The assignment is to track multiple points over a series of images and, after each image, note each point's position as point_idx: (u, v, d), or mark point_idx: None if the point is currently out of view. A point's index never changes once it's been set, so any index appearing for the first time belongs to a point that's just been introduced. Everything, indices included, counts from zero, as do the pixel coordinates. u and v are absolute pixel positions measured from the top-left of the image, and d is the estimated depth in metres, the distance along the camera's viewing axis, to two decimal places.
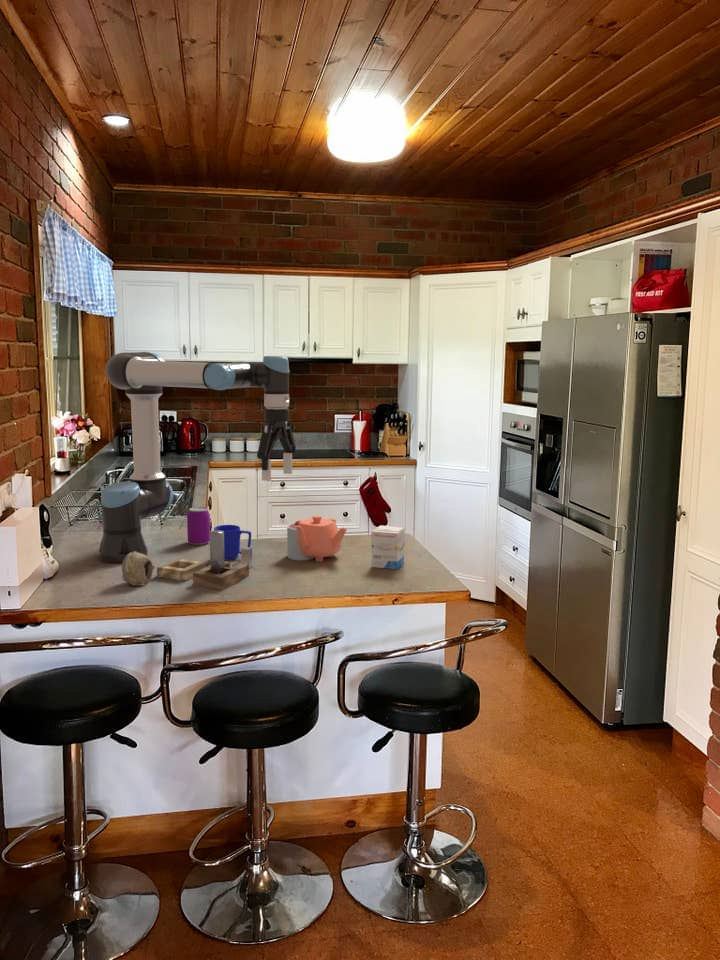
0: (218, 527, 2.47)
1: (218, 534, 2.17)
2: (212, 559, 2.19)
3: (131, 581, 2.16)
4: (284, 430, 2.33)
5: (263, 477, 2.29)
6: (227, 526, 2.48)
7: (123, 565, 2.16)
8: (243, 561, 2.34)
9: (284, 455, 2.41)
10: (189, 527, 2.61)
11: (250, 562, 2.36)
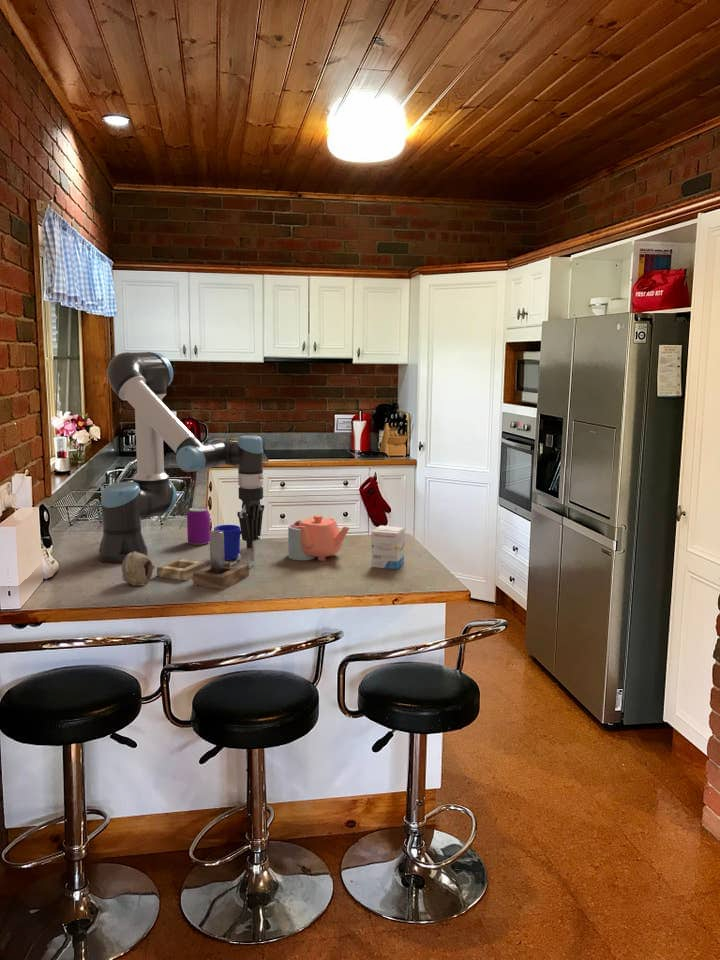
0: (218, 527, 2.47)
1: (218, 534, 2.17)
2: (212, 559, 2.19)
3: (131, 581, 2.16)
4: (258, 507, 2.36)
5: None
6: (227, 526, 2.48)
7: (123, 565, 2.16)
8: (242, 561, 2.34)
9: None
10: (189, 527, 2.61)
11: (250, 563, 2.36)
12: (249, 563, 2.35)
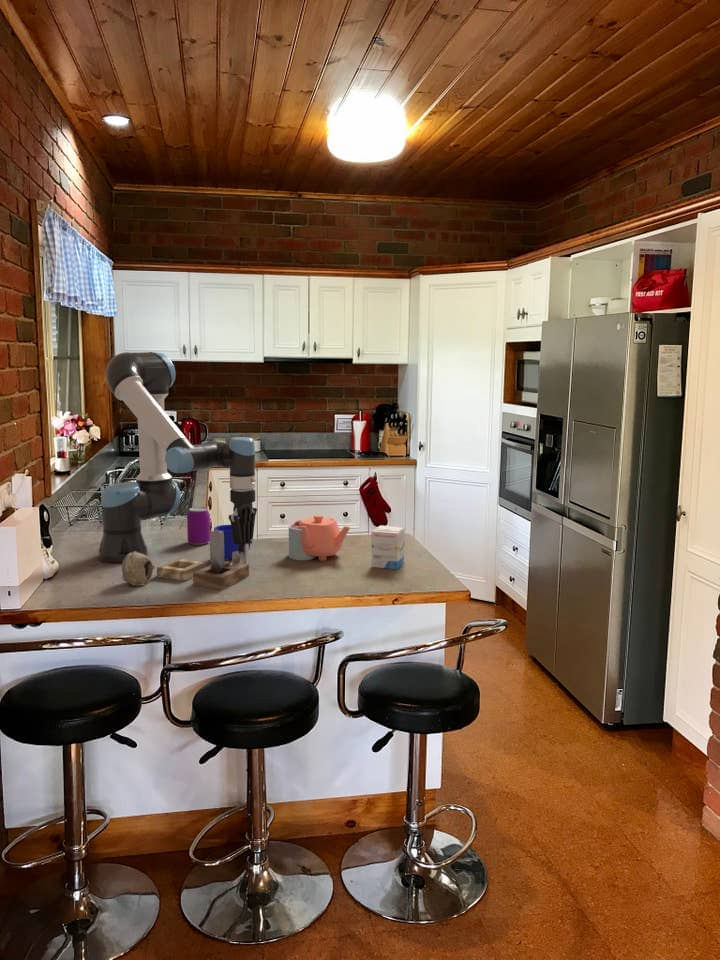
0: (218, 527, 2.47)
1: (218, 534, 2.17)
2: (212, 559, 2.19)
3: (131, 581, 2.16)
4: (250, 510, 2.32)
5: None
6: (227, 526, 2.48)
7: (123, 565, 2.16)
8: None
9: None
10: (189, 527, 2.61)
11: None
12: None
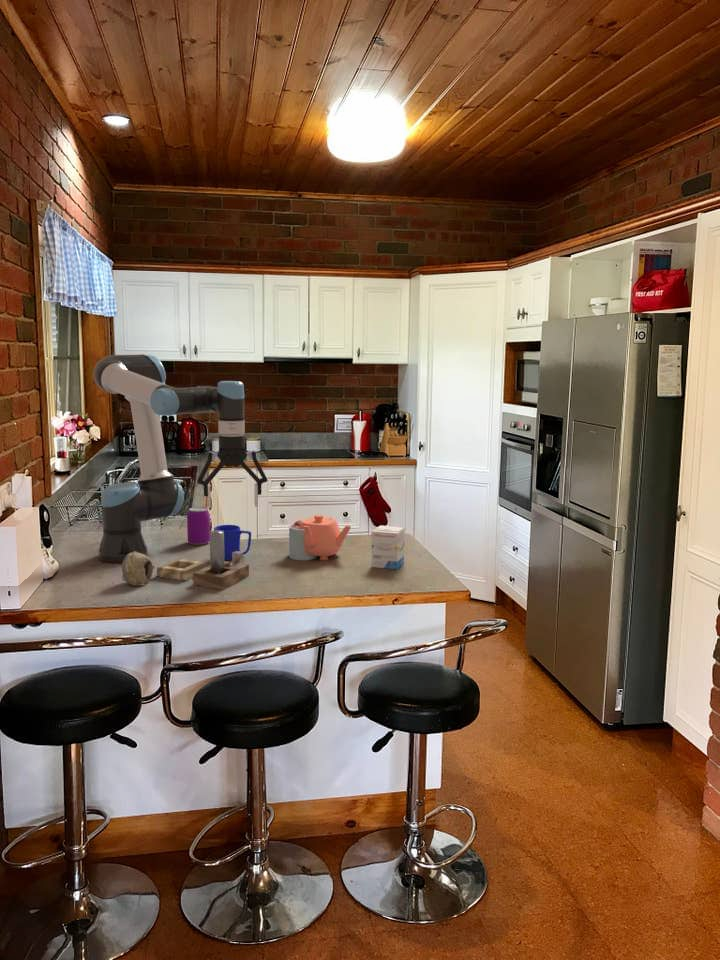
0: (218, 527, 2.47)
1: (218, 534, 2.17)
2: (212, 559, 2.19)
3: (131, 581, 2.16)
4: (236, 459, 2.22)
5: None
6: (227, 526, 2.48)
7: (123, 565, 2.16)
8: None
9: (254, 486, 2.27)
10: (189, 527, 2.61)
11: None
12: None
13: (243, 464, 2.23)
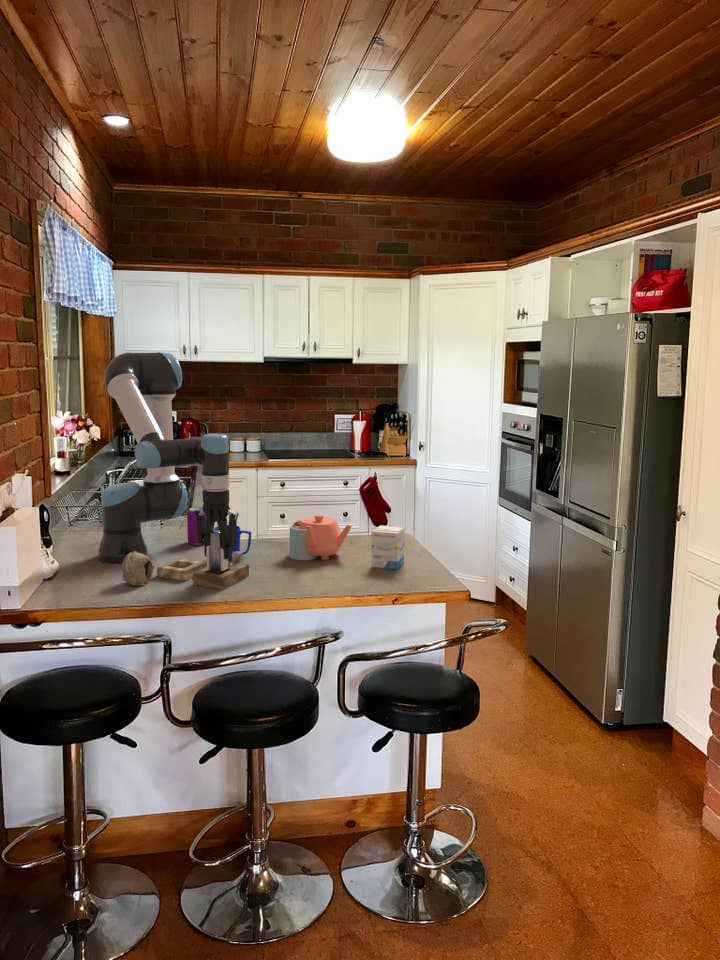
0: (218, 527, 2.47)
1: (218, 534, 2.17)
2: (212, 559, 2.19)
3: (131, 581, 2.16)
4: (215, 514, 2.16)
5: None
6: (227, 526, 2.48)
7: (123, 565, 2.16)
8: None
9: None
10: (189, 527, 2.61)
11: None
12: None
13: (219, 522, 2.16)
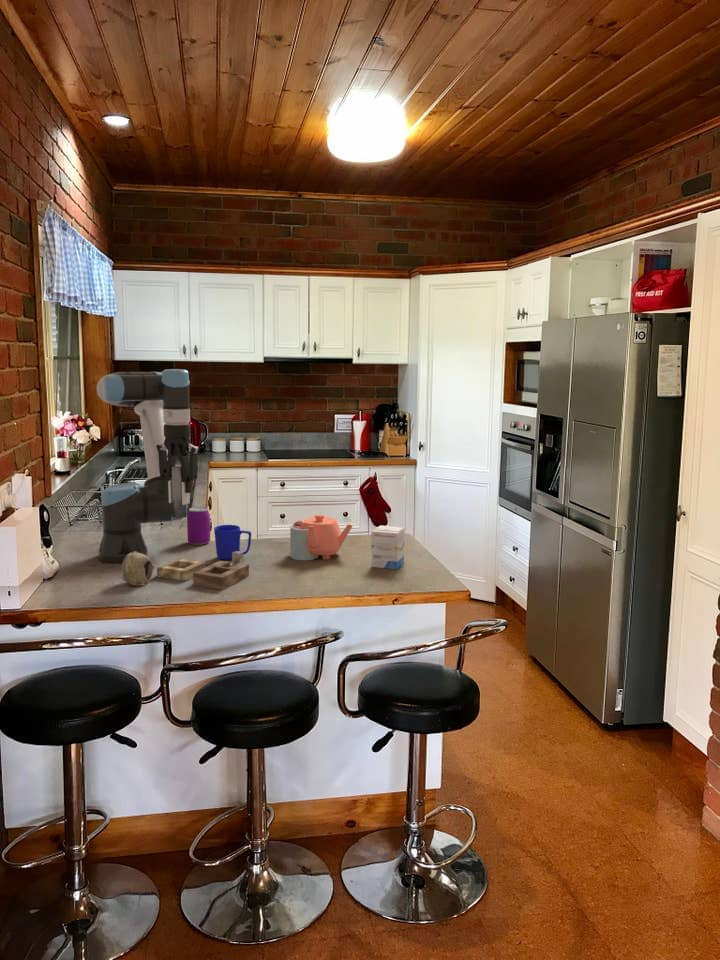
0: (218, 527, 2.47)
1: (179, 468, 2.21)
2: (173, 493, 2.23)
3: (131, 581, 2.16)
4: (176, 447, 2.20)
5: None
6: (227, 526, 2.48)
7: (123, 565, 2.16)
8: None
9: None
10: (189, 527, 2.61)
11: None
12: None
13: (179, 456, 2.20)
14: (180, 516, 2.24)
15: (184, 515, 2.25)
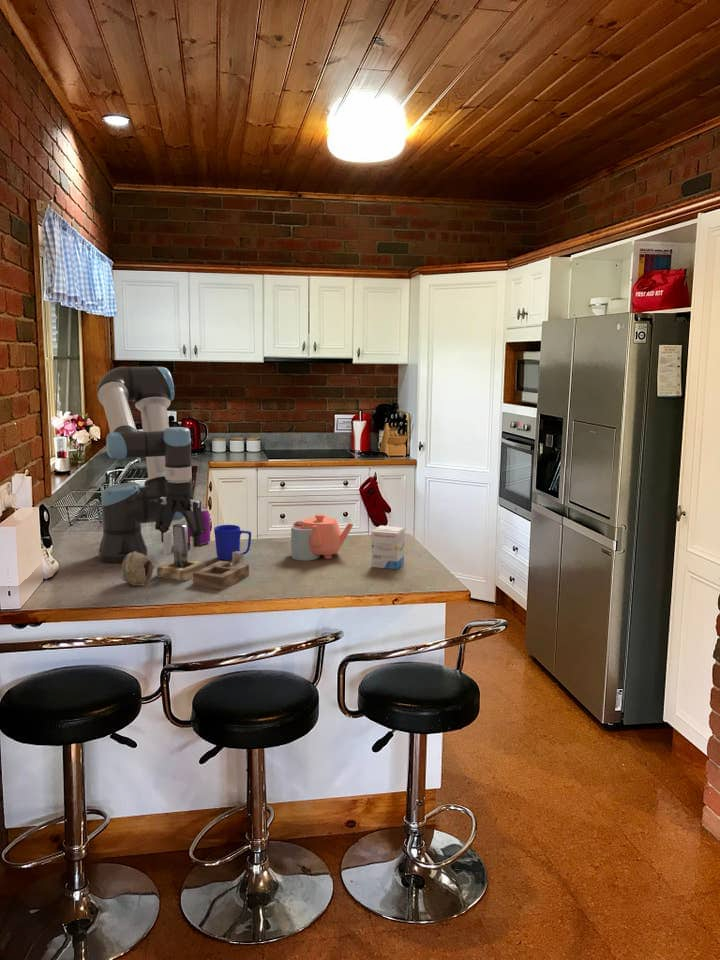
0: (218, 527, 2.47)
1: (181, 527, 2.25)
2: (175, 552, 2.26)
3: (131, 581, 2.16)
4: (178, 505, 2.23)
5: None
6: (227, 526, 2.48)
7: (123, 565, 2.16)
8: None
9: None
10: None
11: None
12: None
13: (183, 512, 2.23)
14: None
15: None
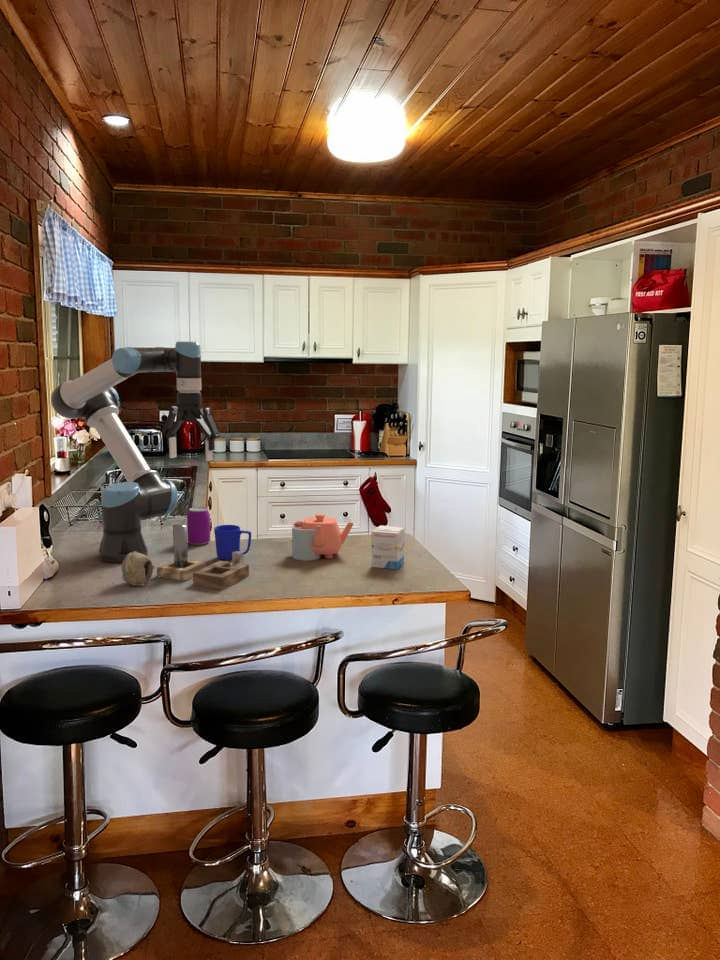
0: (218, 527, 2.47)
1: (181, 527, 2.25)
2: (175, 552, 2.26)
3: (131, 581, 2.16)
4: (189, 414, 2.38)
5: None
6: (227, 526, 2.48)
7: (123, 565, 2.16)
8: None
9: None
10: (189, 527, 2.61)
11: None
12: None
13: (195, 420, 2.38)
14: None
15: None
